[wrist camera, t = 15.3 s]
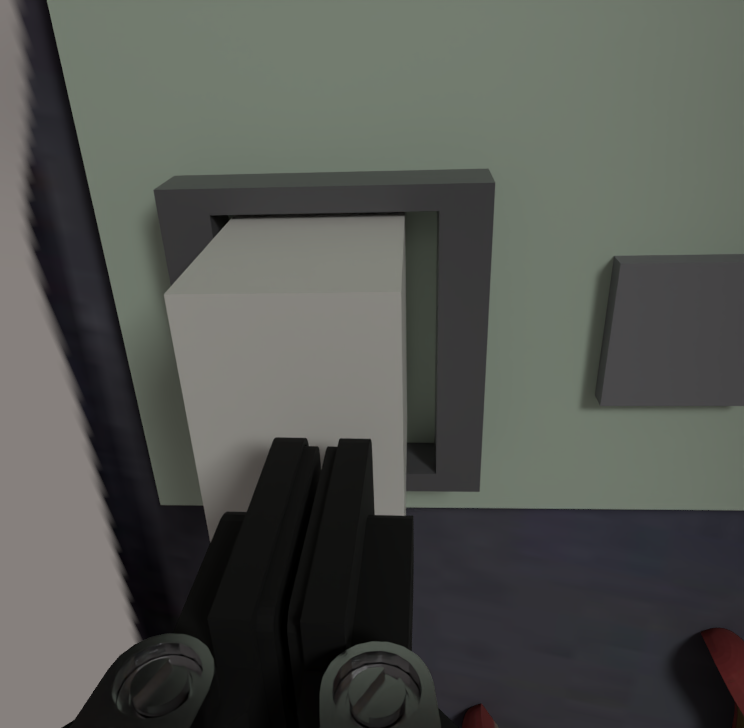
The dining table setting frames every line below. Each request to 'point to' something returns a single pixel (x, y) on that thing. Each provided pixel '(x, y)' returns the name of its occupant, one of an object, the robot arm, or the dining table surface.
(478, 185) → the frame
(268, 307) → the plug
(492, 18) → the board
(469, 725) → the pliers
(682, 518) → the dining table surface
